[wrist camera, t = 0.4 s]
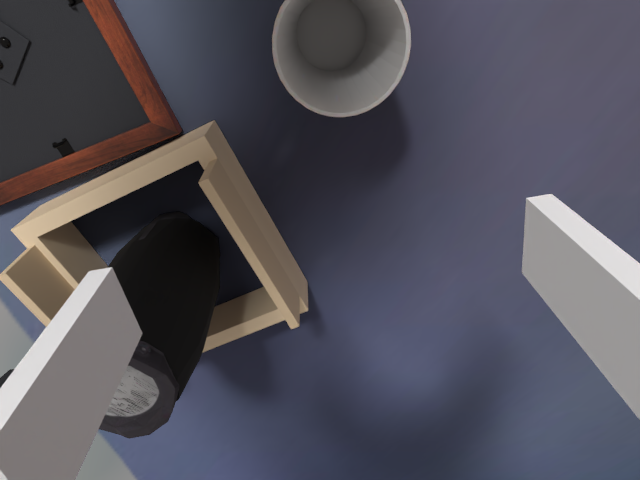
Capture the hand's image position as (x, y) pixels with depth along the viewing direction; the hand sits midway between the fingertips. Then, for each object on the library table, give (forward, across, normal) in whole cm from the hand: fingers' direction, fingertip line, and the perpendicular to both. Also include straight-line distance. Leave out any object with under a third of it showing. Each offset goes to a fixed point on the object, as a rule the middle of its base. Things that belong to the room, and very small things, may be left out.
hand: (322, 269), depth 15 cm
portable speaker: (+28, -15, -12) cm, 34 cm away
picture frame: (+29, -24, +9) cm, 38 cm away
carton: (+28, -15, -12) cm, 34 cm away
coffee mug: (+28, +4, +5) cm, 29 cm away
